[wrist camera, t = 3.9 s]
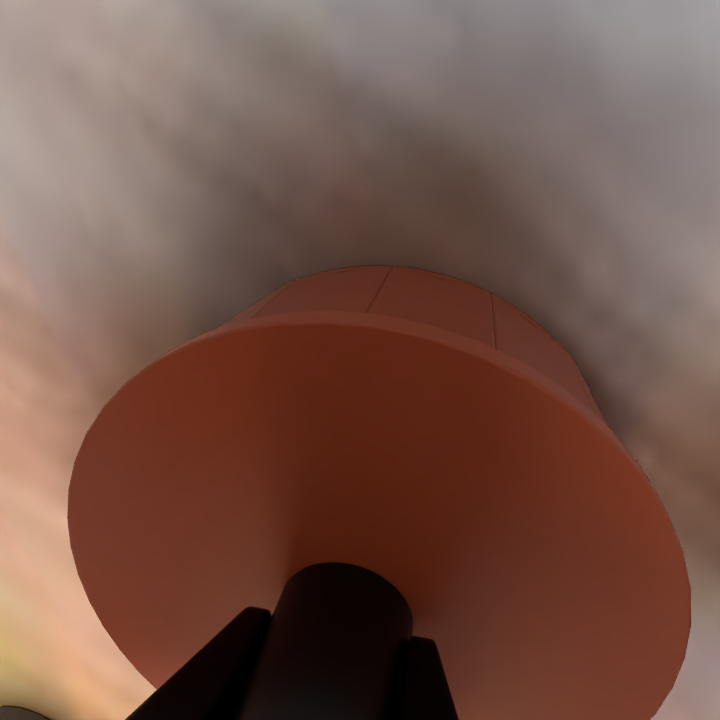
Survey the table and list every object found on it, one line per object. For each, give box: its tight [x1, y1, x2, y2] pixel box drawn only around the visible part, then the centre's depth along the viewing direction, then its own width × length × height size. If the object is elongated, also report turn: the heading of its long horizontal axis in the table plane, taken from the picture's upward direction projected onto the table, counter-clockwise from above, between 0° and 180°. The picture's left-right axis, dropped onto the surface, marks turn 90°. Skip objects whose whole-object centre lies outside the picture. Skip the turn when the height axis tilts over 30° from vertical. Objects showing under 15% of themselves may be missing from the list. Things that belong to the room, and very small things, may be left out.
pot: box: [219, 265, 609, 427], centre depth 12 cm, size 10×10×4 cm
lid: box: [67, 310, 691, 720], centre depth 8 cm, size 11×11×5 cm
